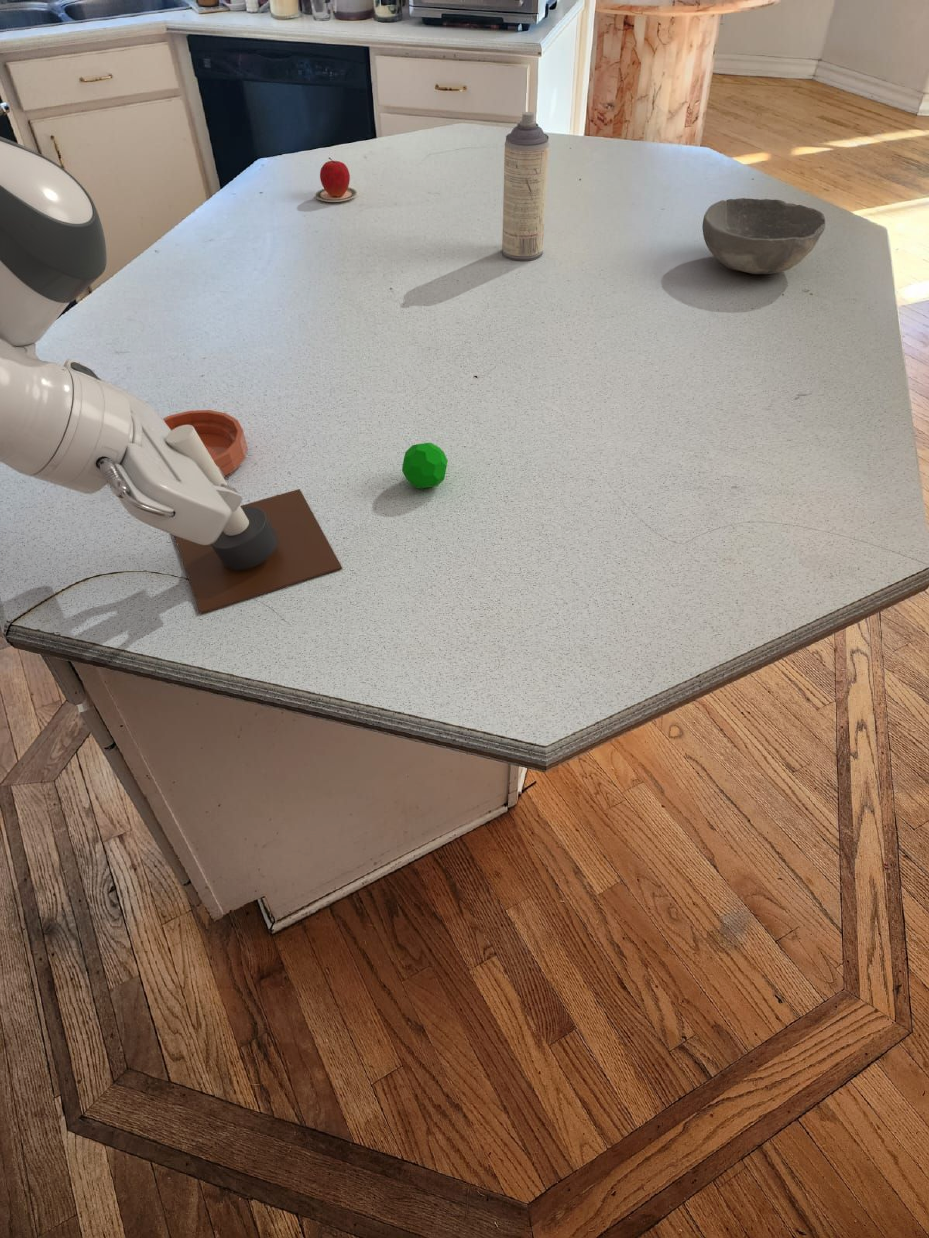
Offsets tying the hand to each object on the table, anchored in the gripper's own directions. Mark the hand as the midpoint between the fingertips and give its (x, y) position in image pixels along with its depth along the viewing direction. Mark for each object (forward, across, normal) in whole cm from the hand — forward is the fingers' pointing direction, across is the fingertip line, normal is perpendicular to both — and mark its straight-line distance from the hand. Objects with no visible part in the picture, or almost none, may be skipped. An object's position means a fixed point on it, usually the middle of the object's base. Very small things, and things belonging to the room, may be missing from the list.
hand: (227, 489), depth 71 cm
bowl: (+73, +17, -61) cm, 97 cm away
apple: (+45, +86, -34) cm, 103 cm away
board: (+6, 0, +5) cm, 8 cm away
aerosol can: (+54, +44, -43) cm, 81 cm away
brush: (+5, -1, +5) cm, 7 cm away
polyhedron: (+21, -1, -9) cm, 23 cm away
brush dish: (+7, +18, +4) cm, 20 cm away
